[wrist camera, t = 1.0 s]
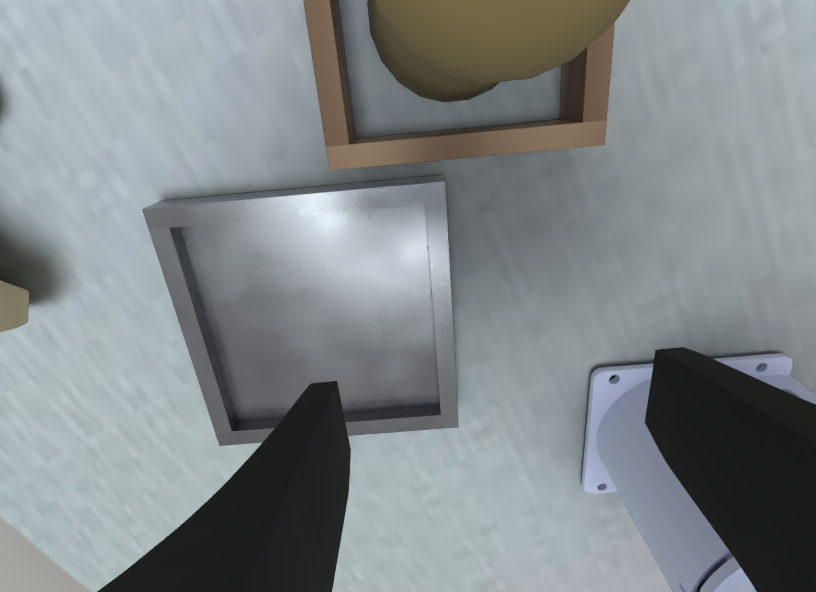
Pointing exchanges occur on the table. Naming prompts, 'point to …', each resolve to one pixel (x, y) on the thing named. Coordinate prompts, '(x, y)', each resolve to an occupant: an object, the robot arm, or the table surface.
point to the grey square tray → (315, 302)
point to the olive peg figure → (482, 40)
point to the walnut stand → (574, 129)
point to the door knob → (13, 306)
